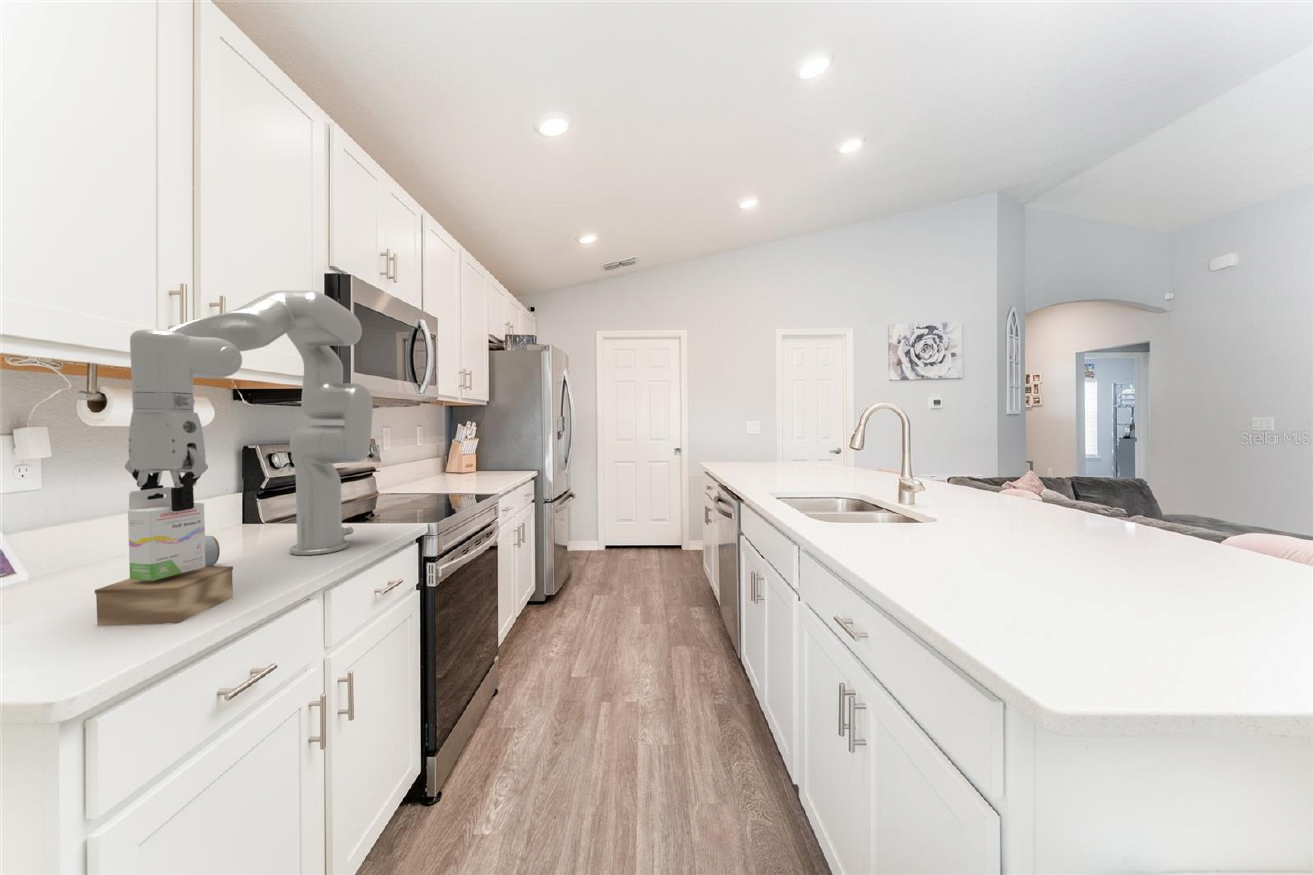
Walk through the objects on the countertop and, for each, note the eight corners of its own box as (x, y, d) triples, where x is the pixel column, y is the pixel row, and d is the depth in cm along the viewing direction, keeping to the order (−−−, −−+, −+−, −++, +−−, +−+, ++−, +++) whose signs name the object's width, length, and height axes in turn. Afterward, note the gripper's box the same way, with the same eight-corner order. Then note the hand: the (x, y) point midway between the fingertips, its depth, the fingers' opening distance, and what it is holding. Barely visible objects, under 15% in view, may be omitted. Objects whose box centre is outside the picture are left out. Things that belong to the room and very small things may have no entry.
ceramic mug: (222, 567, 114) (221, 533, 113) (175, 577, 106) (174, 541, 106) (199, 562, 118) (198, 529, 118) (152, 571, 111) (151, 536, 111)
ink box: (151, 582, 83) (148, 492, 83) (128, 580, 84) (124, 491, 84) (208, 566, 92) (205, 485, 91) (186, 565, 93) (183, 484, 92)
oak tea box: (163, 600, 93) (162, 567, 93) (233, 598, 95) (232, 566, 94) (96, 627, 81) (94, 590, 81) (178, 625, 82) (177, 588, 82)
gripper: (229, 404, 90) (232, 507, 90) (144, 404, 91) (148, 504, 92) (185, 403, 82) (189, 515, 83) (93, 403, 84) (98, 512, 85)
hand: (167, 508), depth 87 cm, fingers closed on ink box, 5 cm apart
